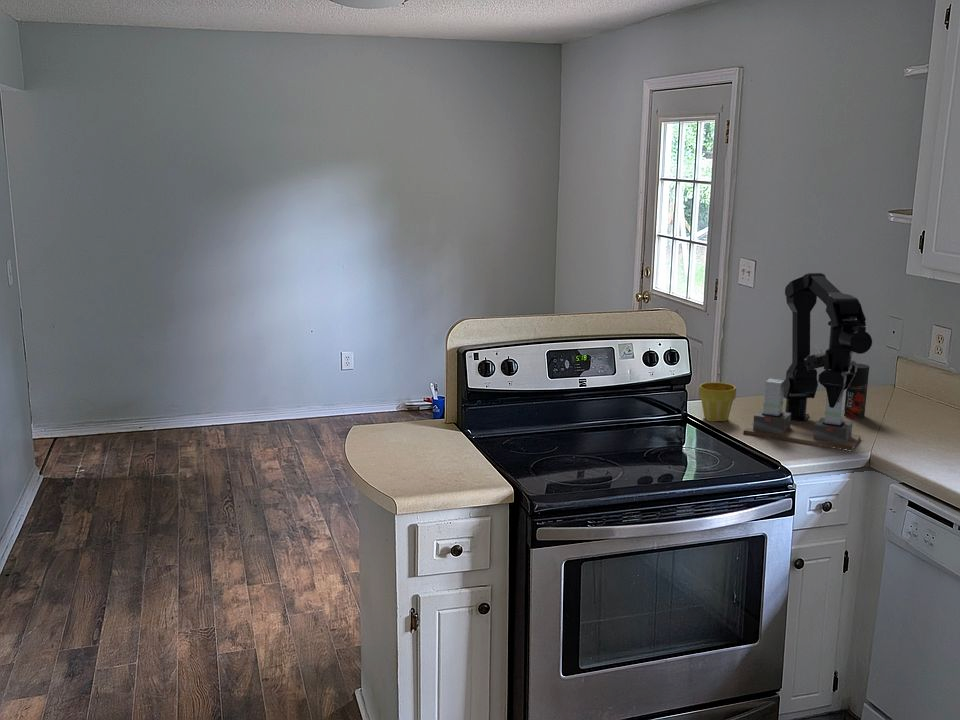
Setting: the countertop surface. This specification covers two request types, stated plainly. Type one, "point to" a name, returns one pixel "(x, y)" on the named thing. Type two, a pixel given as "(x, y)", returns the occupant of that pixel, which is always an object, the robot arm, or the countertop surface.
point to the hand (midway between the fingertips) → (835, 403)
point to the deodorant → (857, 393)
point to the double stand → (803, 431)
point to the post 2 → (836, 410)
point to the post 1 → (774, 397)
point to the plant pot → (717, 400)
